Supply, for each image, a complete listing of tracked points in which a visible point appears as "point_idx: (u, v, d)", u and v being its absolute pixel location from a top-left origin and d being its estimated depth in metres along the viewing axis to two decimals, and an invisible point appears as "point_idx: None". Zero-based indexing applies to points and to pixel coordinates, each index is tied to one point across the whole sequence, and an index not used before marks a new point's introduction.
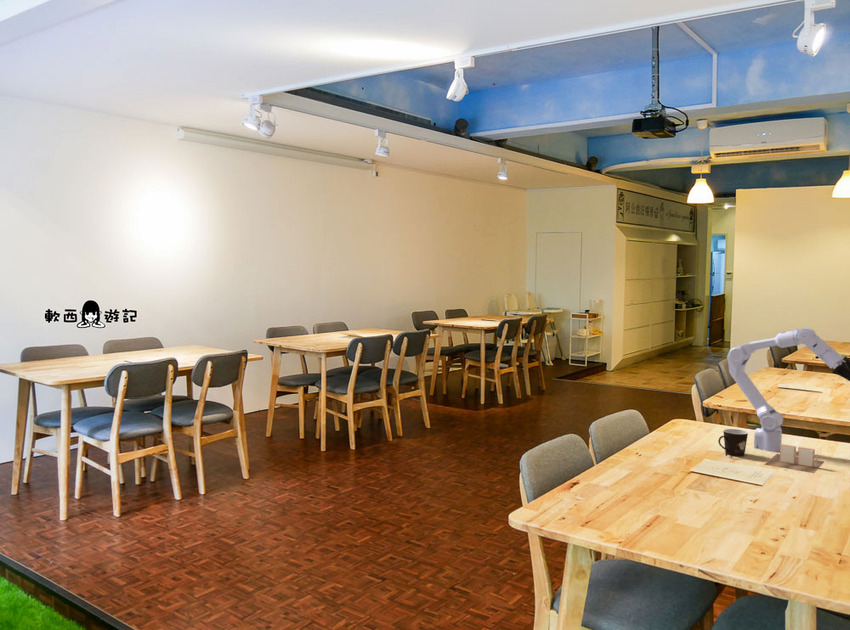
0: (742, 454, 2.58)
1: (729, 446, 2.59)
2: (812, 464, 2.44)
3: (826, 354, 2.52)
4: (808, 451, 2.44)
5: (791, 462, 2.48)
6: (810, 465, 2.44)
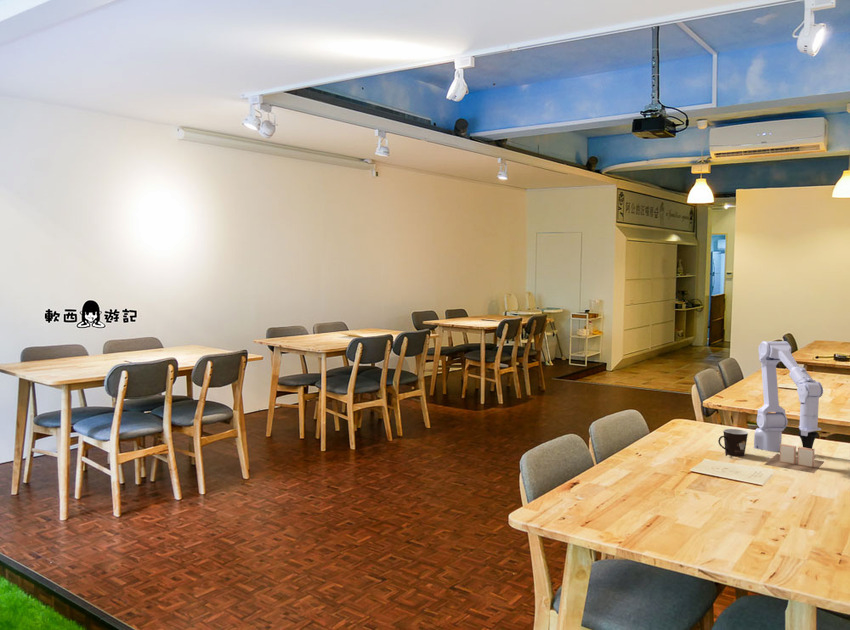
0: (742, 454, 2.58)
1: (729, 446, 2.59)
2: (812, 464, 2.44)
3: (808, 418, 2.44)
4: (808, 451, 2.44)
5: (791, 462, 2.48)
6: (810, 465, 2.44)
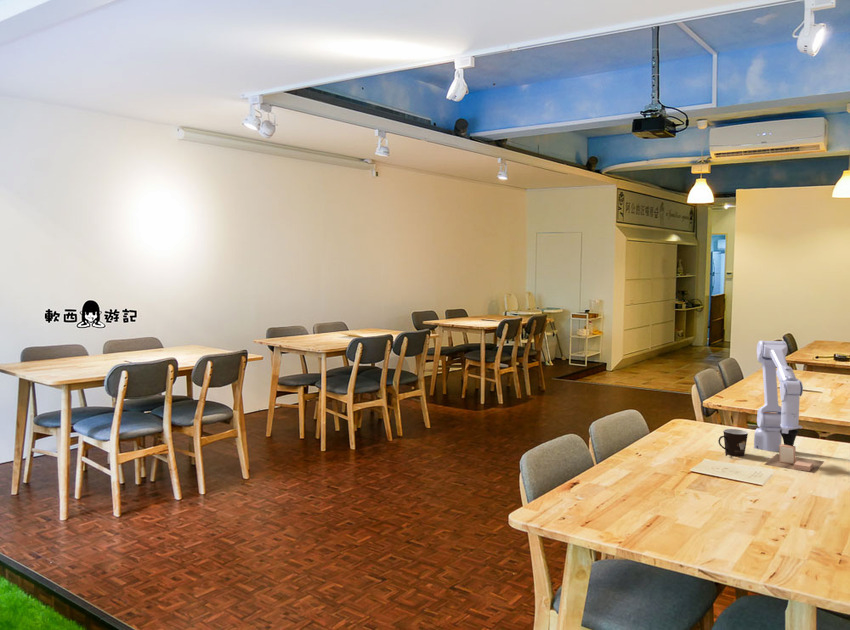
0: (742, 454, 2.58)
1: (729, 446, 2.59)
2: (811, 467, 2.43)
3: (789, 416, 2.47)
4: None
5: (791, 462, 2.48)
6: None
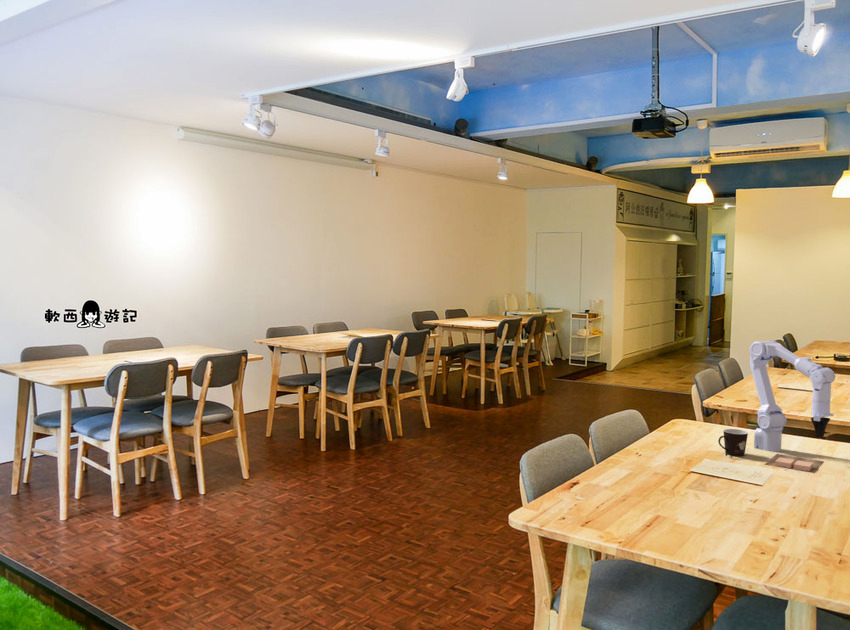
0: (742, 454, 2.58)
1: (729, 446, 2.59)
2: (811, 467, 2.43)
3: (820, 403, 2.47)
4: None
5: None
6: None
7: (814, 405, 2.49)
